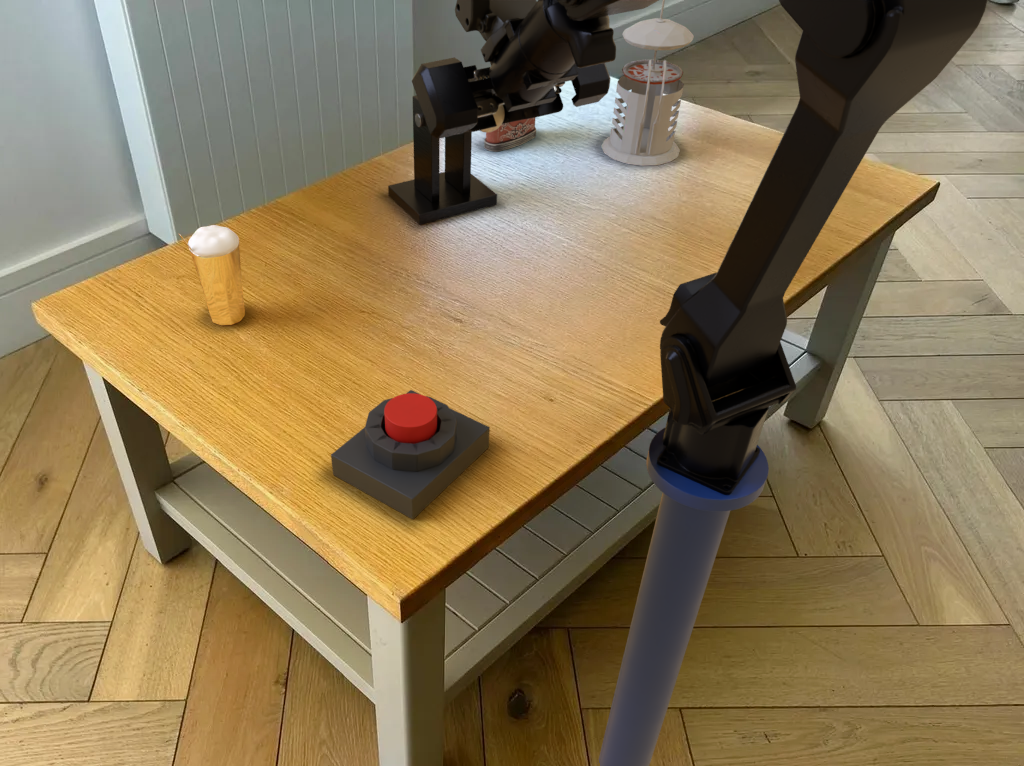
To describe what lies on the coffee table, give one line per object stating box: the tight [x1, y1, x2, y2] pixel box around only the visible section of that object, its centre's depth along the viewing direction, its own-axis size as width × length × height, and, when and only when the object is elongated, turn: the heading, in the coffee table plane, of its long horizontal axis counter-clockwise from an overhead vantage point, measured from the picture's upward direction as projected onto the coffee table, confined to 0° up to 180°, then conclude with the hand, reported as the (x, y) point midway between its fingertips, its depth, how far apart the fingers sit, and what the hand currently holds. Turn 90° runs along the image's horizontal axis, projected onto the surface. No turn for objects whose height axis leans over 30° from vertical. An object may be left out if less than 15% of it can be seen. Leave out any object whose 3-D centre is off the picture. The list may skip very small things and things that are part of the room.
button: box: [384, 393, 437, 444], centre depth 69 cm, size 4×4×2 cm
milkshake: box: [177, 224, 246, 326], centre depth 83 cm, size 4×5×10 cm
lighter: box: [483, 117, 537, 152], centre depth 112 cm, size 8×3×10 cm, turn 130°
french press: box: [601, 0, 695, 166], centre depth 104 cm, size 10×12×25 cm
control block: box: [330, 389, 491, 520], centre depth 70 cm, size 8×10×4 cm
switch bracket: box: [387, 95, 498, 226], centre depth 100 cm, size 8×10×12 cm
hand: (480, 123), depth 91 cm, fingers closed on lever, 3 cm apart
